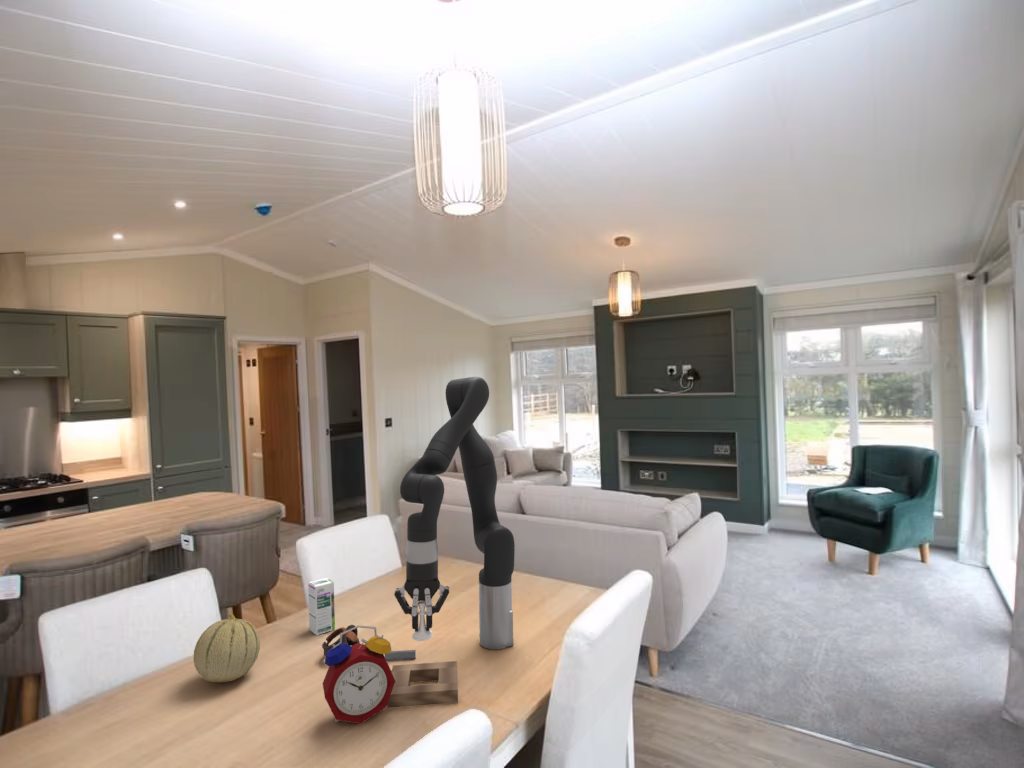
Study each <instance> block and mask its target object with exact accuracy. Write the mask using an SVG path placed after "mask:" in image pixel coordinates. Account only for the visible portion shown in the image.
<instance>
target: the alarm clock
mask: <svg viewBox="0 0 1024 768" xmlns="http://www.w3.org/2000/svg"><path fill="white" fill-rule="evenodd" d="M355 626H356V627H354V628H352V629H349V630H347V631H345V632H343V633H341V634H340V635H339V638H340V642H339V643H338V644H337V645H334V644H333V643H332V644H333V647H332V648H331V649H330V650H328V652H327V654H326V656H325V658H324V665H326V666H327V667H328V669H327V671H326V672H325V673H326V674H325V676H324V678H323V682H322V689H323V693H324V694H323V695H324V699H325V701H326V703H327V705H328V707H329V708H330V711H331V713H332V715H333V717H334V722H335V723H338V722H339V721H340V722H348V723H353V724H354V723H355V724H363V723H365V722H366V721H368V720H369V719H371V718H372V717H374V716H376V714H378V713H380V712H383V710H384V709H387V703H388V700H389V698H390V695H391V692H392V689H393V687H394V684H395V679H394V677H393V674H392V672H391V671H392V669H391V667H390V666H389V665H390V664H389V663H388V661H386V659H385V654H390V652H391V651H392V647H391V642H389V640H387V639H386V638H384V635H383V634H381V636H380V635H378V634H377V633H378V632H377V627H376V626H369V625H359V624H358V625H355ZM356 628H357V629H358V628H361V629H363V628H364V629H373V631H374V636H372V637H370V638H369V639H368V640H366V639H364V638H361V642H362V643H360V644H359V643H356V644H354V645H353V646H349V645H347V644H348V643H347V644H345V643H342V635H343V634H345V633H347V632H350V631H352V630H354V629H356Z"/></svg>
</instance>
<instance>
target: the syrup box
mask: <svg viewBox="0 0 1024 768" xmlns="http://www.w3.org/2000/svg"><path fill="white" fill-rule="evenodd" d="M307 583H308V584H307V586H308V589H307V592H308V594H307V595H308V622H309V623H308V624H309V625H308V626H309V627H308V628H309V631H310V632H312V633H313V634H314V635H315V636H319V635H322V634H325V633H328V632H331V631H332V632H333V631H335V630H336V622H335V621H336V616H335V582H334V581H333V580H332V579H330V578H328V577H323V578H320V579H317V580H313V581H309V582H307Z"/></svg>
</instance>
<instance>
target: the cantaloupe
mask: <svg viewBox="0 0 1024 768" xmlns="http://www.w3.org/2000/svg"><path fill="white" fill-rule="evenodd" d="M260 649H261V638H260V634H259V632H258V629H257V628H256V626H254V624H252V623H251V622H250V621H248V620H245V619H242V618H236V617H235V615H234V614H231V613H230V614H229V618H225V619H222V620H221V619H220V620H218V621H216V622H214V623H212V624H211V625H210V626H208V627H207V628H206V629H205V630H204V631H203V632H202V633H201V635H200V636H199V638H198V640H197V642H196V643H195V646H194V649H193V664H194V668H195V670H196V672H197V673H198V675H199V676H200V677H201V678H202V679H203V680H206V681H207V682H210V683H211V682H212V683H220V684H223V683H228V682H233V681H235V680H238V679H239V678H242V677H243V676H244V675H245V674H247V673H248V671H250V669H251V668H252V667H253V666H254V664H255V663H256V661H257V660H258V657H259V654H260Z"/></svg>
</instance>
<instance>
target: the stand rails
mask: <svg viewBox="0 0 1024 768" xmlns="http://www.w3.org/2000/svg"><path fill="white" fill-rule="evenodd" d="M416 652H417V650H416V649H405V650H404V649H403V650H393V651H392V650H391V652H390V654H384V656H385V659H386V661H387V662H391V661H407V660H416V657H417V655H416V654H417V653H416ZM391 672H392V670H391Z"/></svg>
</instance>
